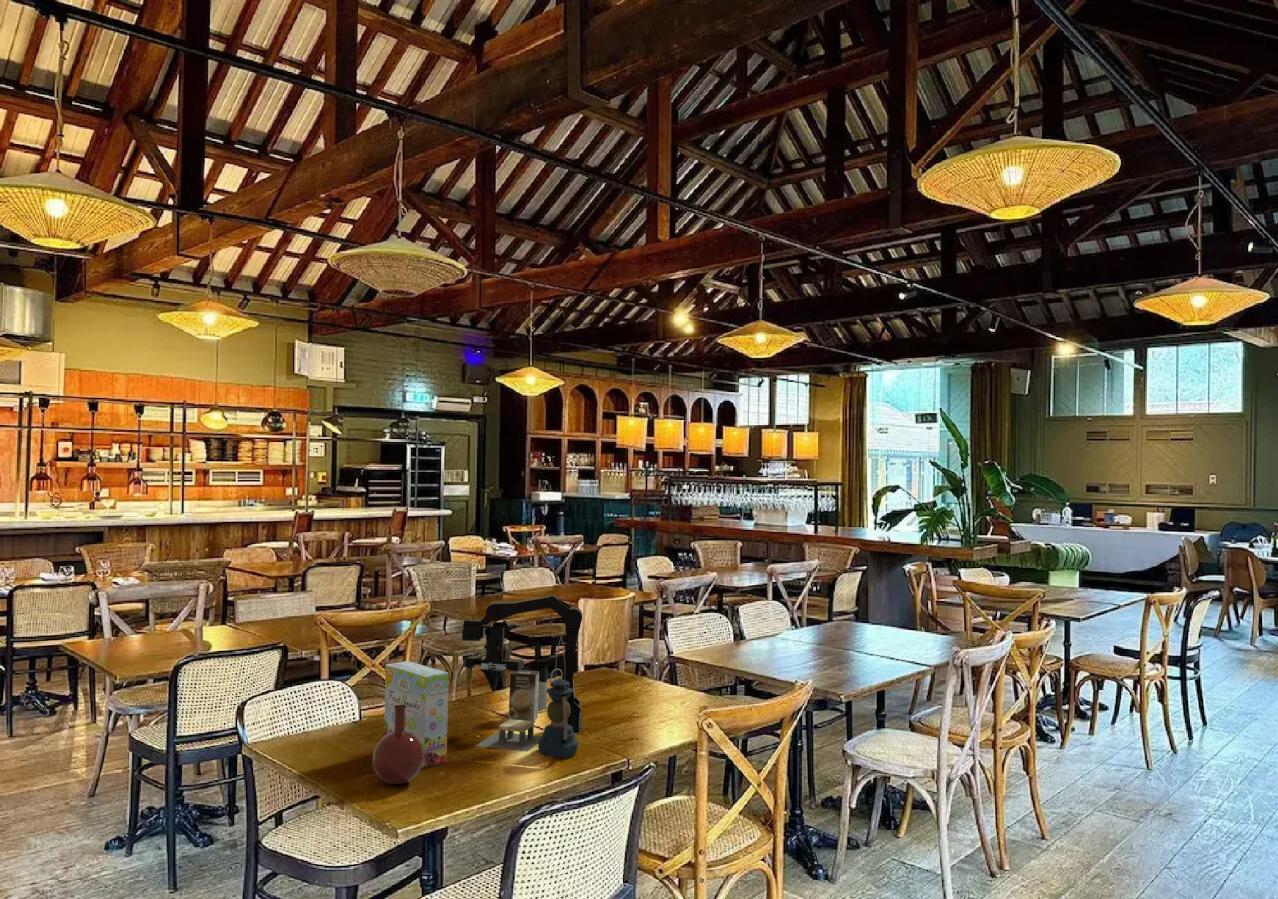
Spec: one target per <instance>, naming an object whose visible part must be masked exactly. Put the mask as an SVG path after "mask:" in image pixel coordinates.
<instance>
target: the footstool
mask: <svg viewBox="0 0 1278 899" xmlns="http://www.w3.org/2000/svg"><path fill="white" fill-rule="evenodd" d="M534 724H535V722H534V721H524V720H513V719H509V720H507V721H505V722H503V723H502V724H500V725H499V726H498V728H499V729H498V732H499V744H505V733H506V731H507V733H508V738H510V739H512V738H514V734H515V732H516V733H517V732H519V733H518V734H519V746H522V747H524V746H525V735H528V738H527V740H530V741H532V740H533V735H535V734H534V730H535V729H534V727H535V726H534ZM526 731H527V734H526Z"/></svg>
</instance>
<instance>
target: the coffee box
mask: <svg viewBox="0 0 1278 899" xmlns="http://www.w3.org/2000/svg"><path fill="white" fill-rule="evenodd" d="M538 691H539V671H528V670H526V669H521V670H519V671H511V672H510V675H509V695H508V696H509V699H508V720H509V719H513V720H524V721H535V720H537V719H538V714H539V713H538ZM508 720H507V721H508ZM535 722H536V721H535Z"/></svg>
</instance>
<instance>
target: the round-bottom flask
mask: <svg viewBox="0 0 1278 899" xmlns="http://www.w3.org/2000/svg"><path fill="white" fill-rule="evenodd" d="M405 708H406V706H405V705H396V706H394V709H395V725H394V732H393V733H390V734H388V735H386V736H385V737H384V736H383V737H382V738H381V739H380V740H379V741H378V742H377V744H376V746H375V748H374V750H373V754H372V767H373V770H374V772H375V774H376V775H377V777H378V778H380V779H381V781H383V782H385V783H388V784H391V785H402V784H406V783H408V782H410V781H412V779H414V778H416V776H417V775H418V774H419V773H420V771H421V769H422V768H423V767H422V765H423V761H424V750H423V746H422V744H421V742H420V741H419V739H418V738H417V737H416V736H414V735H413V734H411V733H408V732H404V728H405Z"/></svg>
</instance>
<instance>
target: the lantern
mask: <svg viewBox="0 0 1278 899" xmlns="http://www.w3.org/2000/svg"><path fill="white" fill-rule="evenodd" d="M560 644H561V645H562V646H561V647H562V653H563V664H564V663H565V656H564V654H565V647H564V642H563V635H562V634H560V637H559V642H558V646H557V650H556V657H555V663H557V659H558V656H559V655H558V653H559V649H560ZM554 669H555V671H554V672H555V673H554V680H553V681H550V683H549V685H550V687H549V688H548V687H547V690H546V691H547V696H548V697H551V698H550V699H551V701H550V702H548V704H547V707H548V708H547V711H546V714H547V717H548V719H549V720H550V721H551V722H550V724H547V725H546V726H544V731H543V732H542V739H540V740H539V742H538V744H537V746H538V751H539V753H540V754H541V755H543V756H545V757H552V758H554V759H565V758H570V757H573V756H575V755H576V754H577V751H578V748H579V740H578V739H577V738H575V734H576V733H574V732H573V727H572V726H570V725H568V723H567V719H568V718H569V716H570V705H569V703H568V702H567V700H568V697H569V696H571V693H572V692H573V689H571V688H567V687H568V686H569V682H567V681H565V680H562V679H561V678H560V679H556V678H557V670H556V669H557V664H555V667H554ZM565 675H566V665H565ZM575 753H576V754H575ZM574 754H575V755H574Z"/></svg>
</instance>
